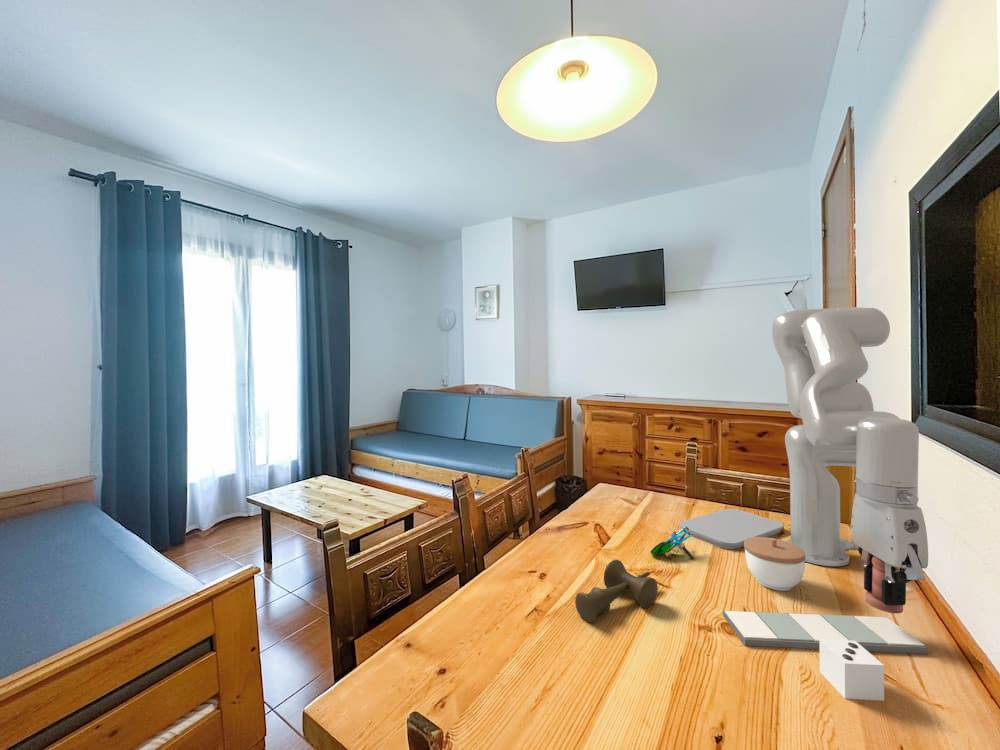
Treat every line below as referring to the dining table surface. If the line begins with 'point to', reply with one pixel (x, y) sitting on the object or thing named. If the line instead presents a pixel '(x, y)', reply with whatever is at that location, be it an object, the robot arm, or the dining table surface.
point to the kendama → (616, 591)
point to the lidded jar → (774, 562)
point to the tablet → (730, 527)
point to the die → (851, 669)
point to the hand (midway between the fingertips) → (884, 596)
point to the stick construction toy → (669, 543)
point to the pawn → (880, 588)
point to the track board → (821, 631)
